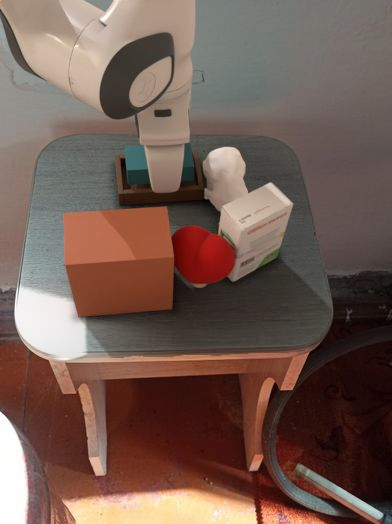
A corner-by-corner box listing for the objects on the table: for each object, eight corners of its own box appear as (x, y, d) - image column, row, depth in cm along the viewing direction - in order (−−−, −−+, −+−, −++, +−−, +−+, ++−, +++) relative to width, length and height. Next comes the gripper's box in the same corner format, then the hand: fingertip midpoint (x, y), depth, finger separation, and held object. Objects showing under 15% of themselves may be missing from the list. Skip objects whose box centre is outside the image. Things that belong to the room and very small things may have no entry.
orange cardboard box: (78, 317, 77) (64, 265, 66) (76, 269, 81) (63, 212, 70) (172, 309, 78) (174, 257, 68) (166, 262, 82) (167, 206, 71)
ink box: (258, 235, 85) (271, 178, 75) (278, 258, 84) (295, 203, 73) (212, 260, 83) (220, 205, 72) (232, 283, 81) (242, 230, 70)
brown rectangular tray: (119, 205, 87) (118, 194, 84) (115, 166, 90) (114, 154, 88) (203, 199, 88) (204, 188, 86) (196, 161, 92) (197, 150, 89)
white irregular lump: (244, 137, 82) (265, 204, 78) (235, 176, 90) (255, 238, 86) (202, 142, 81) (221, 211, 77) (197, 181, 89) (215, 245, 85)
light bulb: (238, 279, 81) (247, 235, 72) (216, 315, 78) (223, 273, 69) (182, 253, 83) (184, 206, 74) (158, 287, 80) (157, 243, 71)
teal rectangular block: (128, 185, 85) (126, 170, 83) (125, 160, 87) (124, 145, 85) (193, 181, 86) (194, 166, 84) (189, 157, 89) (190, 142, 86)
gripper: (128, 40, 78) (132, 121, 91) (140, 145, 69) (144, 220, 81) (173, 38, 79) (171, 119, 91) (191, 143, 70) (187, 217, 82)
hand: (158, 168), depth 86 cm, fingers closed on teal rectangular block, 5 cm apart
